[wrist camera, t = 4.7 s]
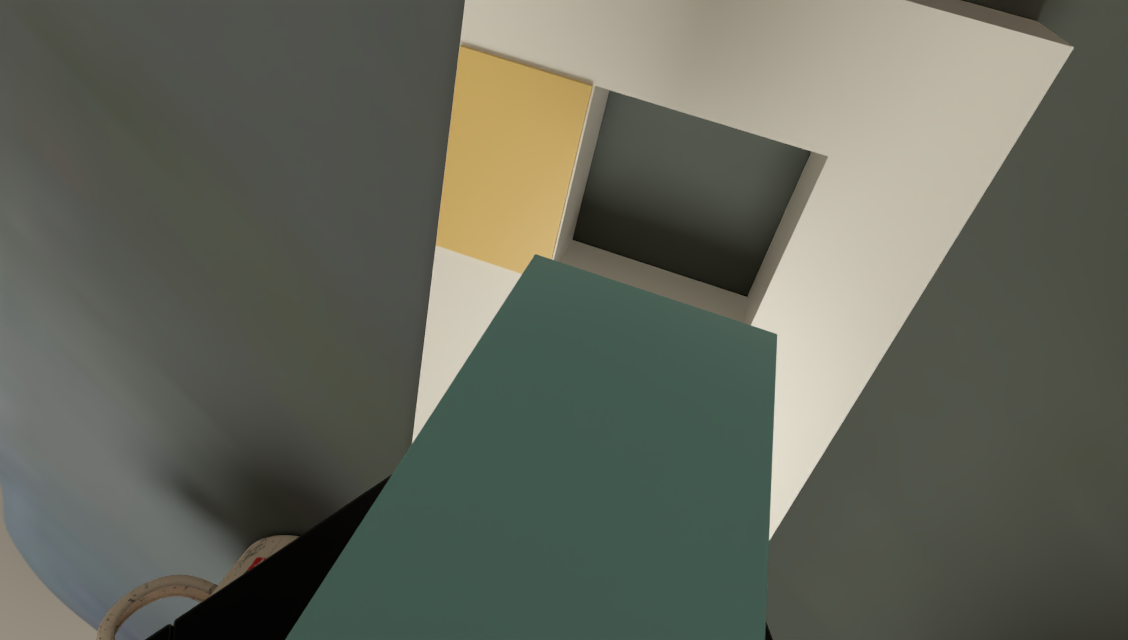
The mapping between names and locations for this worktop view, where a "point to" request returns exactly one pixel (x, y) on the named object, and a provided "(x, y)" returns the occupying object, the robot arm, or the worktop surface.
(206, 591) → the teacup with lid
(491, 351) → the plug
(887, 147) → the panel
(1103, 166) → the worktop surface
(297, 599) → the robot arm
